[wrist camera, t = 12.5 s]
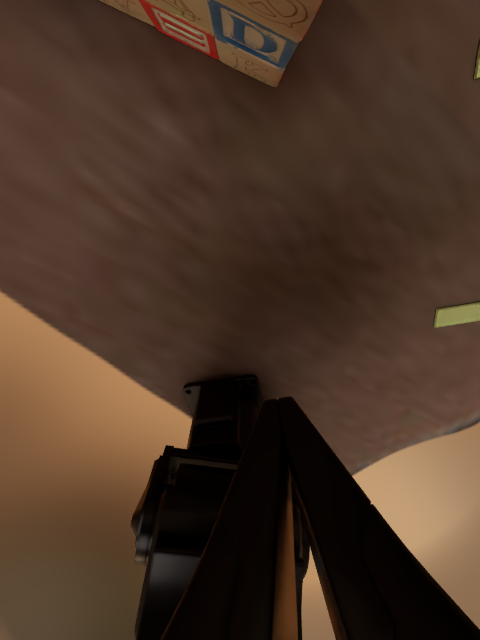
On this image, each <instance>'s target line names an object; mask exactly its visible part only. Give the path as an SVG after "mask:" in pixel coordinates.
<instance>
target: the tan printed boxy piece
mask: <svg viewBox="0 0 480 640" xmlns="http://www.w3.org/2000/svg"><path fill="white" fill-rule="evenodd" d="M99 1H101V2H104V3H106V4H108V5H110V6H112V7H114V8H116V9H118V10H120V11H122V12H124V13H126V14H129V15H131V16H133V17H135V18H137V19H139V20H141V21H143V22H146V23H148V24H150V25H152V26H155V27H156V28H157V30H159V31H160V32H162V33H164V34H166V35H168V36H169V37H171V38H173V39H175V40H178V41H180V42H182V43H184V44H186V45H188V46H190V47H192V48H194V49H196V50H198V51H200V52H202V53H204V54H206V55H208V56H211V57H213V58H215V59H217V60H220V61H221V62H223V63H224V64H226V65H228V66H230V67H232V68H234V69H237V70H239V71H241V72H243V73H245V74H247V75H249V76H251V77H253V78H255V79H257V80H259V81H261V82H263V83H265V84H268V85H270V86H272V87H277V86H278V84H279V81H280V79H281V78H282V75H283V73H284V70H285V68H286V66H287V64H288V62H289V61H290V59H291V57H292V55H293V53H294V51H295V49H296V48H297V46H298V44H299V41H302V40H303V38H304V36H305V34H306V33H307V31H308V29H309V26H310V24H311V23H312V21H313V19H314V17H315V15H316V13H317V12H318V10H319V8H320V6H321V3H322V1H323V0H99Z"/></svg>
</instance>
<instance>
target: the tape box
mask: <svg viewBox="0 0 480 640" xmlns="http://www.w3.org/2000/svg"><path fill="white" fill-rule="evenodd" d="M477 78H480V44H479V50H478V56H477V62H476V68H475V74H474V79H477ZM473 321H480V302H476V303H470V304H464V305H458V306H452V307H446V308H440V309H436V314H435V320H434V327H435V328H436V327H442V326H448V325H455V324H461V323H467V322H473Z"/></svg>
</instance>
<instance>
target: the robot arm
mask: <svg viewBox="0 0 480 640" xmlns="http://www.w3.org/2000/svg"><path fill="white" fill-rule="evenodd" d="M250 380H254V381H250ZM188 390H191V391H188ZM183 395H184V397H185V399H186V402H187V404H188V406H189V409H190V411H191V413H192V416H193V419H192V425H191V430H190V435H189V440H188V445H187V449H180V448H174V446H167V445H166V447H165V450H164V453H163V456H160V457H159V459H157V460H155V462H154V465H153V468H152V472H151V475H150V478H149V481H148V484H147V487H146V489H145V491H144V493H143V495H142V497H141V499H140V501H139V503H138V505H137V508H136V510H135V512H134V514H133V517H132V520H131V528H132V530H133V532H134V534H135V536H136V542H135V547H137V548H136V555H135V565H140V566H141V565H142V566H147V568H146V573H145V578H144V583H143V588H142V593H141V598H140V604H139V608H138V614H137V618H136V624H135V639H136V640H302V625H301V624H302V622H301V621H302V620H301V602H302V583H303V578H304V577H305V575H306V572H307V569H308V563H309V551H310V548H311V551H312V555H313V558H314V562H315V566H316V569H317V573H318V576H319V580H320V584H321V587H322V591H323V595H324V598H325V601H326V605H327V609H328V612H329V616H330V620H331V623H332V627H333V630H334V634H335V638H336V640H480V629H478V627H477V626H476V625H475V624H474V623H473V622H472V621H471V620H470V618H469V617H468V616H467V615H466V614H465V613H464V612H463V611H462V610H461V609H460V607H459V606H458V605H457V604H456V603H455V602H454V601H453V600H452V599H451V597H450V596H449V595H448V594H447V593H446V592H445V591H444V590H443V588H441V586H440V585H439V584H438V583H437V582H436V581H435V580H434V579H433V577H432V576H431V575H430V574H429V573H428V572H427V570H426V569H425V568H424V567H423V566H422V565H421V563H420V562H419V561H418V560H417V559H416V558H415V557H414V555H413V554H412V553H411V552H410V551H409V550H408V549H407V547H406V546H405V545H404V544H403V542H402V541H401V540H400V538H399V537H398V536H397V535H396V533H395V532H394V531H393V530H392V528H391V527H390V526H389V524H387V522H386V521H385V519H384V518H383V517H382V515H381V514H380V513H379V511H378V510H377V509H376V507H375V506H374V505H373V504H371V501H370V500H369V499H368V497H367V496H366V494H365V493H364V492H363V490H362V489H361V488H360V486H359V485H358V484H357V482H356V481H355V480H354V478H353V477H352V476H351V474H350V473H349V472H348V470H347V469H346V468H345V466H344V465H343V464H342V462H341V461H340V460H339V458H338V457H337V456H336V454H335V453H334V452H333V450H332V449H331V448H330V446H329V445H328V444H327V442H326V441H325V440H324V439H323V437H322V436H321V435H320V433H319V432H318V431H317V429H316V428H315V427H314V425H313V424H312V423H311V421H310V420H309V419H308V417H307V416H306V415H305V413H304V412H303V411H302V409H301V408H300V407H299V405H298V404H297V403H296V401H295V400H294V399H293V398H292V397H283V398H279V399H278V400H277V399H268V400H264V401H263V399H262V394H261V390H260V386H259V382H258V378H257V376H256V375H244V376H238V377H231V378H225V379H218V380H212V381H205V382H199V383H192V384H187V385H185V386H184V387H183Z"/></svg>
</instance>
